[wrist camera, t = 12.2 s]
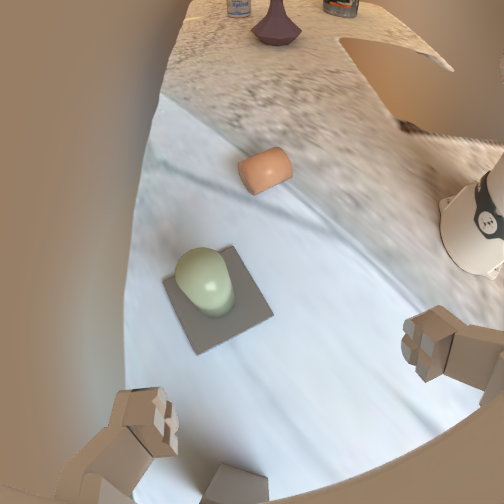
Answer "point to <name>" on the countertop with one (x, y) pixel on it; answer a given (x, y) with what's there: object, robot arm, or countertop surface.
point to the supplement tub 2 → (341, 7)
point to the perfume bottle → (236, 487)
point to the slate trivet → (236, 322)
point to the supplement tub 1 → (238, 8)
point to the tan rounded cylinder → (265, 170)
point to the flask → (276, 26)
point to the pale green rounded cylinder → (206, 282)
